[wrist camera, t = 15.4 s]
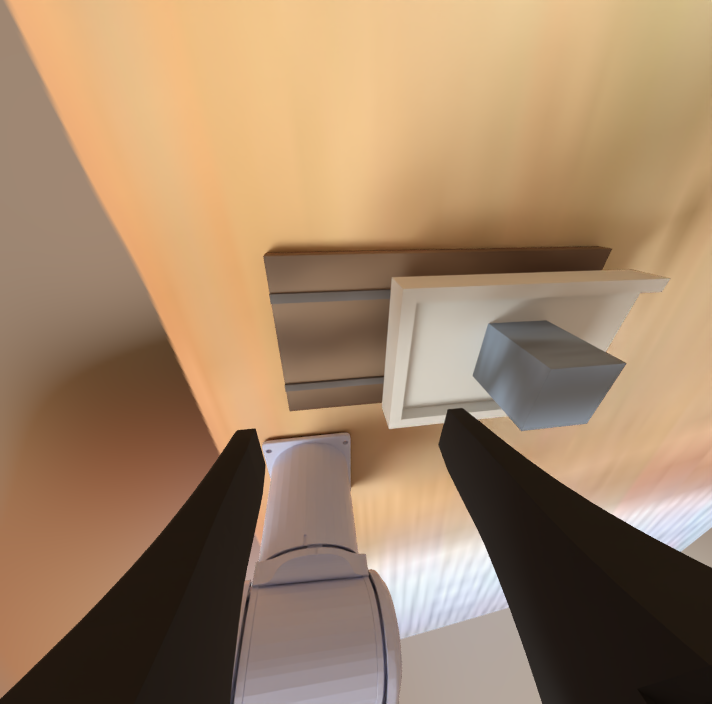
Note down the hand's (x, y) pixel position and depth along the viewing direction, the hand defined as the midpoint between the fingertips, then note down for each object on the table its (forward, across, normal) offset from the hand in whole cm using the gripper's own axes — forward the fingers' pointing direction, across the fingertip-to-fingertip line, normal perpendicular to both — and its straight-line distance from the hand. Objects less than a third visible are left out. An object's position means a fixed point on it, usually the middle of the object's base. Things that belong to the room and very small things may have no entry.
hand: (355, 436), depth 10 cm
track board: (+10, -8, +1) cm, 13 cm away
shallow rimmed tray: (+9, -11, +1) cm, 14 cm away
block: (+7, -11, +1) cm, 13 cm away
